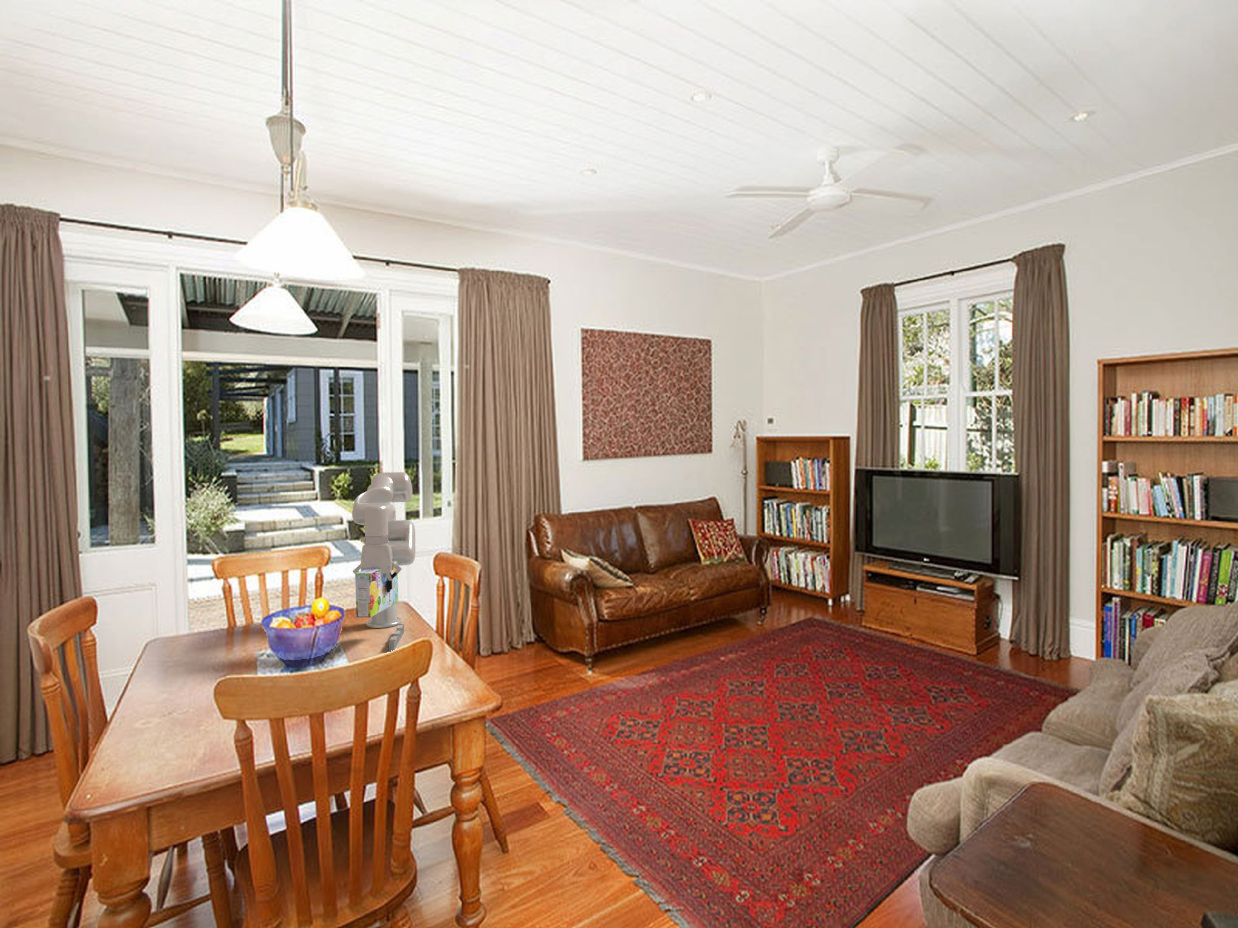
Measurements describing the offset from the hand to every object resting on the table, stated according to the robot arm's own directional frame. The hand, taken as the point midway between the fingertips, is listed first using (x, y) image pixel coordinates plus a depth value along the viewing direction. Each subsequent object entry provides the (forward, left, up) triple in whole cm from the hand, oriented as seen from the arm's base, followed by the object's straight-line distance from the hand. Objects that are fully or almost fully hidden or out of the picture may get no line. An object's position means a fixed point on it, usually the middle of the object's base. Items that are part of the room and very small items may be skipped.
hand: (377, 591), depth 219 cm
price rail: (0, +6, -18) cm, 19 cm away
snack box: (0, 0, -6) cm, 6 cm away
